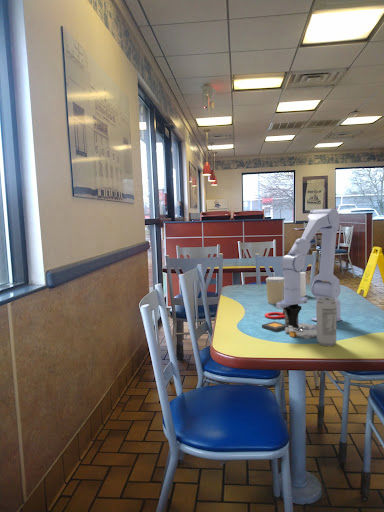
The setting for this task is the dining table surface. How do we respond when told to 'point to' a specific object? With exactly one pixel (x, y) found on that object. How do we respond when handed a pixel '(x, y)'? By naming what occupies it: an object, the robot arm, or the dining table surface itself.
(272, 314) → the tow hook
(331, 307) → the energy drink can
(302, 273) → the white upright block
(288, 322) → the roller
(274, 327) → the pad
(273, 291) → the coffee cup
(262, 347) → the dining table surface
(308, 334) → the sprocket
